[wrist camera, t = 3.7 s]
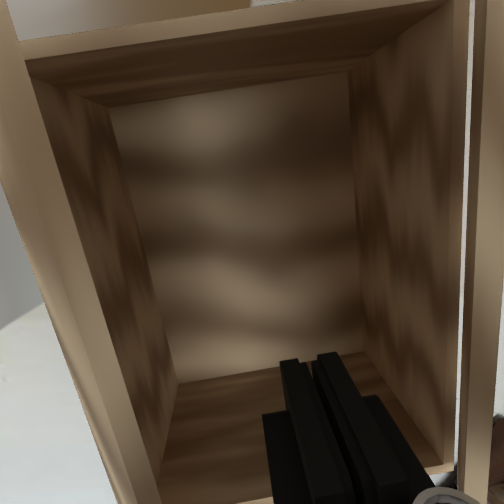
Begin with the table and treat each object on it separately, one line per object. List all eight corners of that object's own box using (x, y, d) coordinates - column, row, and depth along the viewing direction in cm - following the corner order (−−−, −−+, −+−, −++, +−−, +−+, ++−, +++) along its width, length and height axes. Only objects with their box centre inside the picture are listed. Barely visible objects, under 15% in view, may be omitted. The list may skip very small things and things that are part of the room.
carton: (100, 101, 23) (-25, 47, 12) (351, 63, 24) (470, -25, 12) (174, 386, 30) (141, 529, 19) (368, 352, 31) (453, 470, 19)
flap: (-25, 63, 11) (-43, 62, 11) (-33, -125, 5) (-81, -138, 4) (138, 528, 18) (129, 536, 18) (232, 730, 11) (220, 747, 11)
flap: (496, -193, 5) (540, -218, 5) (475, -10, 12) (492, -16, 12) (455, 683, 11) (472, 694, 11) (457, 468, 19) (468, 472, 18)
